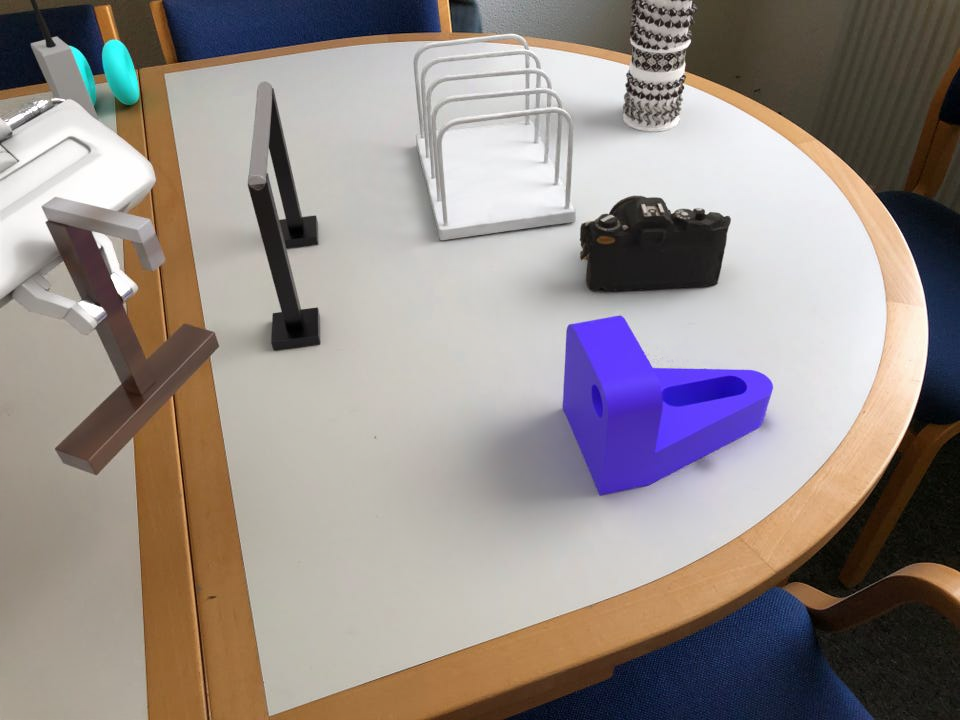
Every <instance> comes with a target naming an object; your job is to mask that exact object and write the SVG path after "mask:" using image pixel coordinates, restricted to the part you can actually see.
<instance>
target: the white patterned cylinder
mask: <svg viewBox="0 0 960 720" xmlns="http://www.w3.org/2000/svg"><path fill="white" fill-rule="evenodd" d="M630 9H631V13H632V15H631V17H630V18H631V19H630V21H629V22H630V25H631V26H630V29H629V32H628V33H629V35H630V37H629V41H630V44H631V46H632V49H631V50H632V51H631V58H630V59H629V67H628V70H627V72H626V74H625V76H626V83H625V84H624V86H625V90H626V92H625V94H623V99H624V103H623V106H622V108H623V114H622V120H623V123H625V124H626V125H627V126H628V127H630V128H632V129H635V130H638V131H643V132H650V133H651V132H652V133H654V132H655V133H656V132H657V133H659V132H664V131H669V130H671V129H673V128H675V127H677V125H678V124H679V122H680V115H681V113H680V112H681V111H682V107H681V106H682V102H683V101H684V98H683V96H682V94H683V93H684V90H685V85H684V83H685V80H686V78H687V75H686V74H685V71H686V70H685V69H686V54H687V48H688V47H689V46H690V45H691V42H692V40H691V39H692V37H693V32H692V31H691V30H689V28H690V27H692V26H694V25H695V23H696V21H697V20H696V18H695V17H694V16H693V15H694V14H696V13H697V11H698V6H697V5H696V4H694V2H693V0H632V2H631V3H630Z"/></svg>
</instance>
